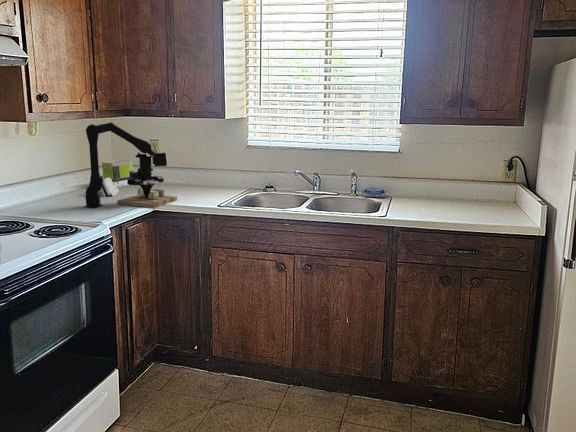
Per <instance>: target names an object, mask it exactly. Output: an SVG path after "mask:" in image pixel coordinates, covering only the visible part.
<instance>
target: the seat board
mask: <svg viewBox="0 0 576 432" xmlns="http://www.w3.org/2000/svg"><path fill="white" fill-rule="evenodd" d="M152 190H153V191H158V193H159V198H158V199H150V198H145V197H139V196H138V194H135V195H132V196H129V197H125V198H121V199H117V200H116V202H117V204H119V206H127V205H135V206H134V207H138V206H143V207H142V208H149V209H155V208H158V207H161V206H162V207H163V206H164V205H167V203H168V204H170V203H174V202H176V201H178V196H175V195H165V190H164V189H157V188H153V189H152Z"/></svg>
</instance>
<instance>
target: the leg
mask: <svg viewBox="0 0 576 432" xmlns="http://www.w3.org/2000/svg"><path fill="white" fill-rule="evenodd" d="M137 195H138V196H139V197H145V195H144V192H143V190H142V188H141V187H139V188H137ZM147 198H150V199H158V198H159V193H158V191H153V189H151V190H150V192H149V195H148V197H147Z"/></svg>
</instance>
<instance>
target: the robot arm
mask: <svg viewBox="0 0 576 432" xmlns="http://www.w3.org/2000/svg"><path fill="white" fill-rule="evenodd" d="M107 132H112V133H113V134H115V135H116V136H118V137H120V138H122V139H123V140H125V141H126V142H128V143H130V144H131V145H133V146H134V147H135V148H136V149H137V150H138V151H140V152H141V153H140V152H137V154H136V155H135V156H134V157H135V158H136V159H137V158H139V159H138V163H139V167H138V168H137V171H134V170H133V171H130V172H129V176H130V178H131V179H128V180H127V184H129V185H128V186H140V188H142V190H143V192H144V195H145V198H147V197H148V195H149V192H150V190H152V188H153V187H154V186H155V183H154V182H158V183H164V182H165V181H164V180H165V179H164V177H163V176H162V175H161V176H160V175H152V174H153V173H152V172H154V168H152V165H153V166H154V167H167V164H168V162H167V154H166V152H155V151H154V150H153V149H152V145H151V143H150V142H149V141H147V140H145V139H142V138H139V137H137V136H135V135H132V134H131V133H129V132H128V131H126V130H124V129H123V128H121V127H119V126H118V125H116V124H115V123H114V122H111V121H109V122H107V123H102V124H97V125H96V124H94V123H92V124H89V125H88V126H86V129H85V134H86V137H87V140H88V141H87V142H88V145H89V160H90V177H89V185H88V186H87V187H86V189H85V192H84V193H85V205H84V206H83V208H90V209H96V208H99V207H102V206H104V204H101V195H100V191H101V189H102V185H103V184H104V183H103V174H102V175H101V174H100V167H99V151H98V150H99V149H98V147H99V146H98V141H99V135H100V134H104V133H107ZM147 154H148V155H147Z"/></svg>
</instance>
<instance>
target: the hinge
mask: <svg viewBox="0 0 576 432" xmlns="http://www.w3.org/2000/svg"><path fill="white" fill-rule="evenodd" d="M103 183H104V184H103V185H102V189H101V190H100V191H101V194H102V196H103V198H106V197H107V196H112V197H115V196H116V195H117V194H118V193H119V192H120V190H119V187H115V186H114V184H113V182H112V180H111V178H105V179H103Z"/></svg>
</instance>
